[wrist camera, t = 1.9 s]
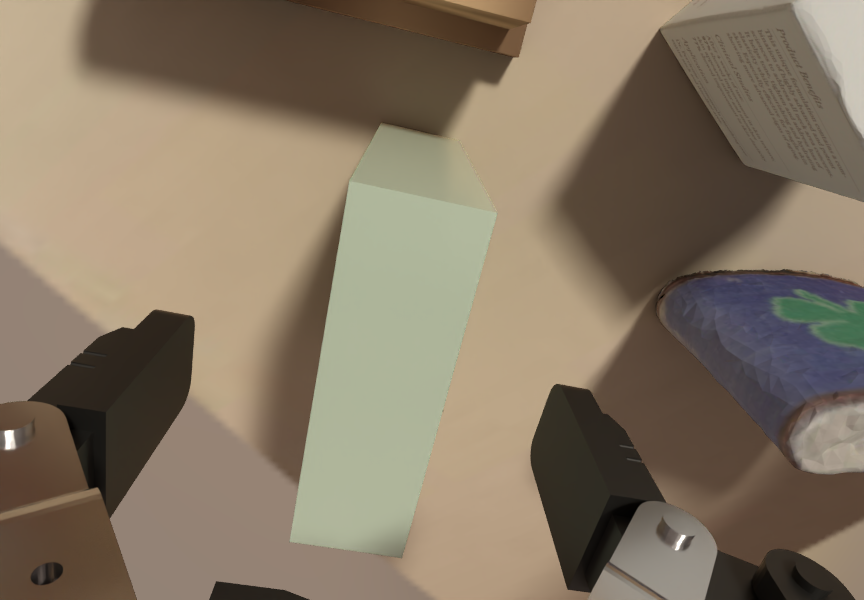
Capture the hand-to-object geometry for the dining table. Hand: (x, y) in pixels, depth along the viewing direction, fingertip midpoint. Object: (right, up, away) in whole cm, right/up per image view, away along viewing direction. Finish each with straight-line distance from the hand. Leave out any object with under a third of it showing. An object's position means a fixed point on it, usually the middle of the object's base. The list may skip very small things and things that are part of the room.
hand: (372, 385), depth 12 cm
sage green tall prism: (0, +4, +9) cm, 10 cm away
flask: (+15, +2, +10) cm, 18 cm away
